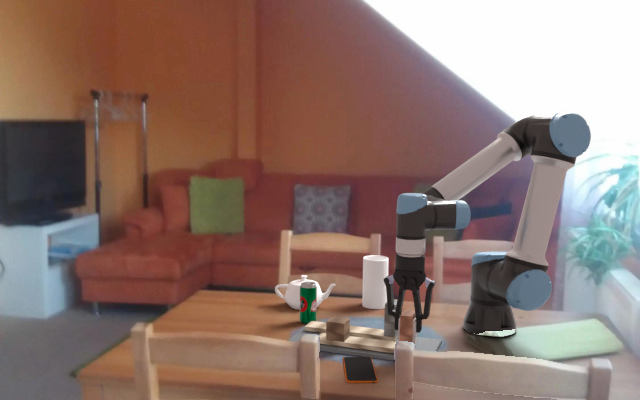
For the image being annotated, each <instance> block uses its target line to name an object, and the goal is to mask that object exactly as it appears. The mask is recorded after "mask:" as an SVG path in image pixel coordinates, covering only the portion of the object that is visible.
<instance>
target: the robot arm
mask: <svg viewBox="0 0 640 400" xmlns="http://www.w3.org/2000/svg"><path fill="white" fill-rule="evenodd" d="M591 137H592V133H591V129H590V126H589V125H588V123H587V120H586V119H585V118H584V117H583V116H581V114H578V113H576V112H573V111H564V110H561V111H535V112H532V113H529V114H527V115H525V116H522V117H521V118H520V119H518V120H516V121H514V122H513V123H511V124H510V125H509V126H507V127H506V128H504V129H503V130H502V131H500V132H499V133H497V136H496V139H495V140H494V141H492V142H491V143H490V144H489V145H487V146H486V147H484V148H483V149H481V150H480V151H479V152H477V153H476V154H474V155H473V156H471V157H470V158H469V159H467V160H466V161H465V162H463V163H462V164H461V165H459V166H458V167H456V168H455V169H453V170H452V171H451V172H450V173H448V174H446V176H444V177H442V178H441V179H440V180H439V181H437V182H435V183H434V184H433V185H431V186H430V187H428V188H427V189H425V190H424V191H422V192H418V193H417V192H405V193H401V194H399V195H398V196H397V201H396V210H395V214H396V225H395V226H396V227H395V228H396V231H395V232H396V233H395V234H396V236H395V252H396V253H397V254H395V255H394V257H395V262H394V263H395V264H394V271H393V274H391V275H388V276H386V277H385V278H384V283H385V285H386V292H387V309H388V315H392V316H393V317H394V318H395V330H398V341H400V315H401V314H402V313H403V306H404V303H405V302H404V300H405V296H406V292H407V290H408V291H411V293H412V297H413V306H414V307H413V308H414V311H415V315H416V318H415V319H414V320H413V336H412V342H413V343H414V344H415V345H416V344H417V337H419V335H418V333H419V334H420V333H421V332H422V329H423V327H422V325H423V320H427V319H428V318H429V316H430V315H431V304H432V296H433V289H434V288H435V286H436V283H437V282H436V280H435V279H433V280H431V279H430V278H428V277H427V275H426V272H425V271H426V270H425V268H426V266H425V265H426V256H425V253H426V240H427V239H426V238H427V231H442V230H443V231H446V230H448V231H449V230H454V231H456V230H462V229H463V230H464V229H465V228H467V227H468V226H469V224H470V222H471V208H470V205H469V204H468V203H467V202H466V201H465V200H464V199H463V200H460V199H462V198H464V197H465V196H466V195H468V194H469V193H470V192H472V191H473V190H475V189H476V188H477V187H479V186H480V185H481V184H482V183H484V182H486V181H487V180H488V179H489V178H491V177H492V176H494V175H495V174H497V173H498V172H499V171H500V170H502V169H503V168H505V167H506V166H508V165H509V164H510V163H511V162H519V161H521V160H522V159H524V157H527V156H529V155H530V156H529V157H530V159H531V160H532V162H533V168H532V171H531V175H530V180H529V183H528V189H527V190H526V191H527V192H526V195H525V199H524V203H523V207H522V211H521V216H520V219H519V222H518V227H517V230H516V235H515V238H514V242H513V247H512V249H511V250H509V251H482V252H481V251H480V252H476V253H474V254H473V255H472V258H471V264H470V267H471V269H470V272H471V273H470V276H471V277H470V295H469V296H470V300H469V304H468V307H467V310H466V312H465V315H464V318H463V322H462V328H463V330H464V329H465V330H464V331H465V332H468V333H469V332H470V334H472V333H475V334H479V333H483V332H485V331H503V330H512V329H516V330H517V321H516V318H515V314H514V311H513V308H514V309H517V310H521V311H525V312H531V311H536V310H537V309H539V308H540V307H543V306H544V305H545V303H547V301H548V300H549V298H550V296H551V295H552V291H553V282H552V281H551V277H550V276H549V274H548V271H549V270H548V269H549V266H550V265H549V263H548V260H547V259H546V253H547V250H548V245H549V241H550V237H551V234H552V230H553V226H554V222H555V218H556V214H557V211H558V206H559V203H560V199H561V195H562V191H563V187H564V184H565V179H566V175H567V173H568V171H569V170H570V169H572V168H573V167H575V164H576V160H577V157H579V156H582V155H583V154H584V153H585V152H586V151H587V150H588V149H589V146H590V144H591ZM394 281H395V282H396V284H397V285H398V294H397V295H398V296H397V305H396V310H394V299H395V298H394ZM423 283H425V286H424V287H425V288H426V291H425V296H424V297H425V298H424V304H423V305H424V306H423V309H422V302H421V301H422V300H421V295H420V293H421V292H420V291H421V290H420V287H421V286H422V285H423ZM475 334H474V335H475Z"/></svg>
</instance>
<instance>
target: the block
mask: <svg viewBox="0 0 640 400" xmlns="http://www.w3.org/2000/svg"><path fill="white" fill-rule="evenodd" d="M325 323H326V340H332V341H340V342H344V341H345V340H346V339H347V338H348V337H349V336H350V326H351V325H350V323H351V318H350V317H349V318H347V317H340V316H331V317H330V318H329V319H327V320H326V322H325Z"/></svg>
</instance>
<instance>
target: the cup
mask: <svg viewBox="0 0 640 400" xmlns="http://www.w3.org/2000/svg"><path fill="white" fill-rule="evenodd" d="M386 276H389V257H387V256H385V255H379V254H378V255H376V254H375V255H371V254H370V255H365V256H363V258H362V295H361V296H362V299H361V301H362V303H361V305H362V307H363V308H365V309H370V310H382V309H385V303H386V302H387V292H386V285H385V283H384V278H385V277H386Z"/></svg>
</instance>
